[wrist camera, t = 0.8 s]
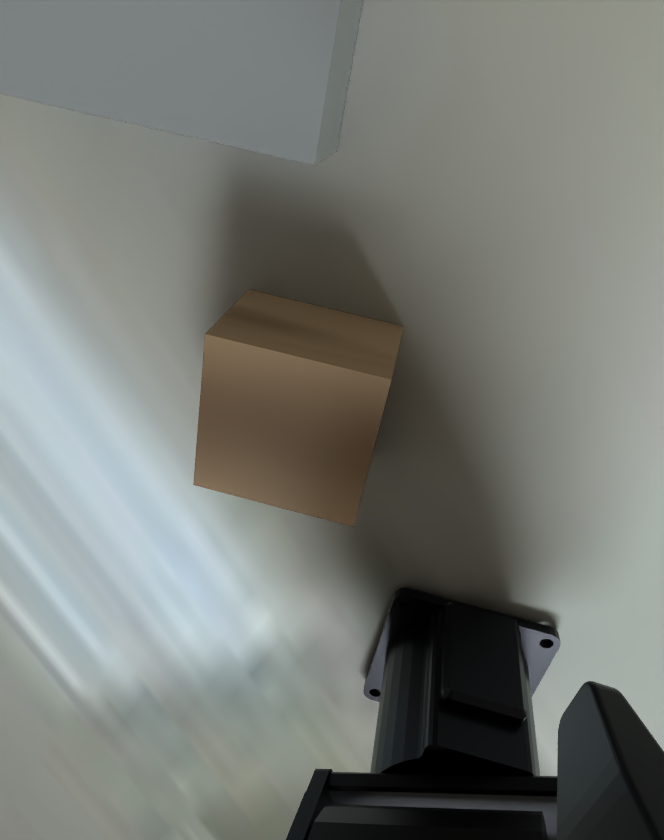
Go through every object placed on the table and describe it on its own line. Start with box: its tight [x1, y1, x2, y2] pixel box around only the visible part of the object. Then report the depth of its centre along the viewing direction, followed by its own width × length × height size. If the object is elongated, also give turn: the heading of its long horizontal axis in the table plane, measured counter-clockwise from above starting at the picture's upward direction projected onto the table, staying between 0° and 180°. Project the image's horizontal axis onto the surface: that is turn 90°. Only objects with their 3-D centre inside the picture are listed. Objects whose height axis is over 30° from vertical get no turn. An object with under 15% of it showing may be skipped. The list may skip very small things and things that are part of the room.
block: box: [193, 290, 404, 527], centre depth 19 cm, size 5×5×4 cm
